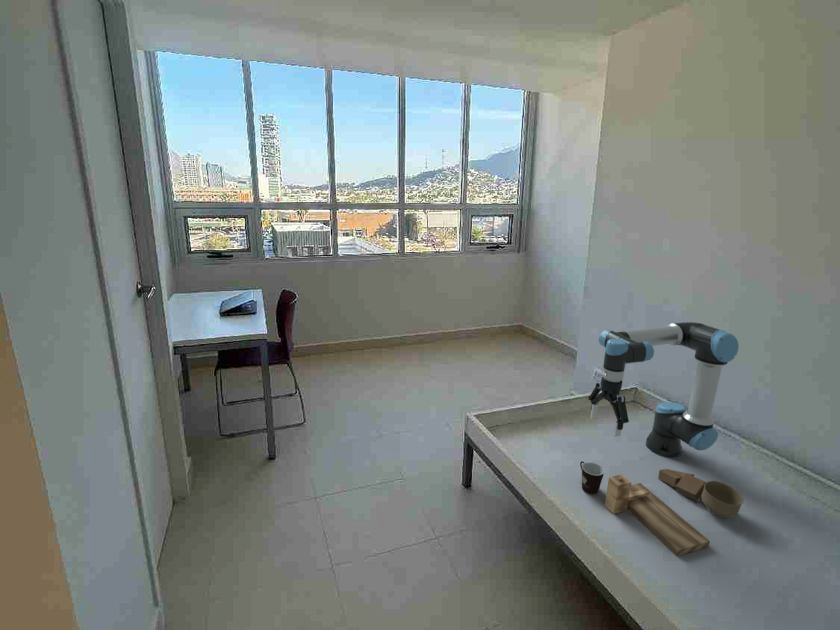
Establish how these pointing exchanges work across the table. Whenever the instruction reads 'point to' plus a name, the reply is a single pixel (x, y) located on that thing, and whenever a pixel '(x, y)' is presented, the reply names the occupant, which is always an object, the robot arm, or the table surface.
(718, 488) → the bowl
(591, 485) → the coffee mug
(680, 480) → the brown wooden blocks
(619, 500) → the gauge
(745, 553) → the table surface
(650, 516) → the board
